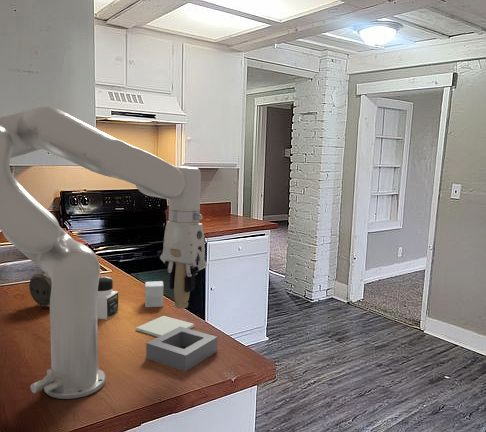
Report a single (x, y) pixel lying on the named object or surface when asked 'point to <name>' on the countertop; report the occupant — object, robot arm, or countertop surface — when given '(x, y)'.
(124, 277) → the countertop surface
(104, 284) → the medicine bottle
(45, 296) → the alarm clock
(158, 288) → the product box
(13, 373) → the countertop surface
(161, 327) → the pad
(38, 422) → the countertop surface
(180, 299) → the handle
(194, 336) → the pocket holder
